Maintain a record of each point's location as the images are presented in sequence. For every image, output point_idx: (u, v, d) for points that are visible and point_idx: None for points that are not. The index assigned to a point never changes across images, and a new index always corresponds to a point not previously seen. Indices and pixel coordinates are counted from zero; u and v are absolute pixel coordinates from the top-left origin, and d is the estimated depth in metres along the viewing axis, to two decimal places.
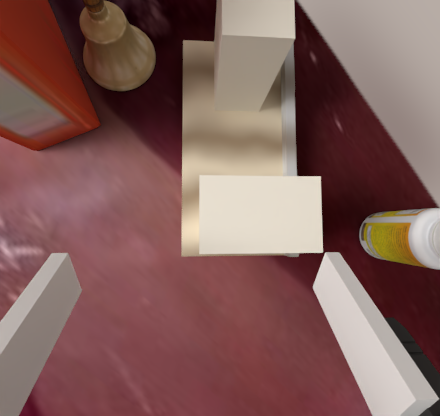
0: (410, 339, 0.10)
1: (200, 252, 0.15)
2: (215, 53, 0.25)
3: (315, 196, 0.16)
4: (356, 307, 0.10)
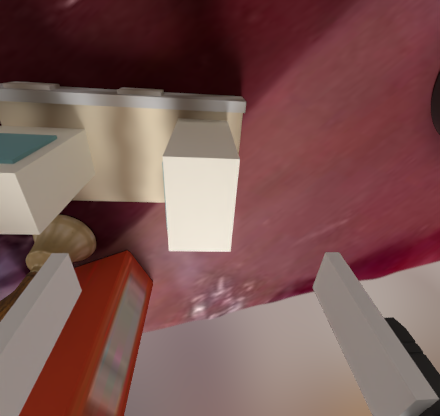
0: (410, 339, 0.10)
1: (229, 251, 0.20)
2: None
3: (183, 162, 0.16)
4: (356, 307, 0.10)
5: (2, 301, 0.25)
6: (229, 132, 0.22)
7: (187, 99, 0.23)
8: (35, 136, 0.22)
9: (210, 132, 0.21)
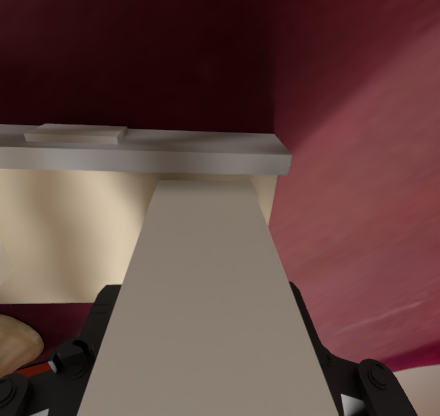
0: (299, 298, 0.11)
1: None
2: None
3: None
4: None
5: None
6: (265, 232, 0.10)
7: (171, 152, 0.11)
8: None
9: (223, 234, 0.10)
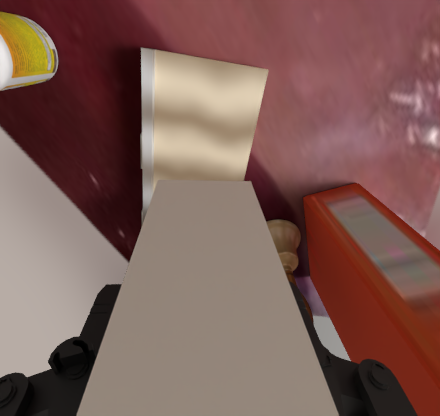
0: (299, 298, 0.11)
1: None
2: None
3: None
4: None
5: None
6: (265, 232, 0.10)
7: (142, 112, 0.25)
8: None
9: (224, 234, 0.10)
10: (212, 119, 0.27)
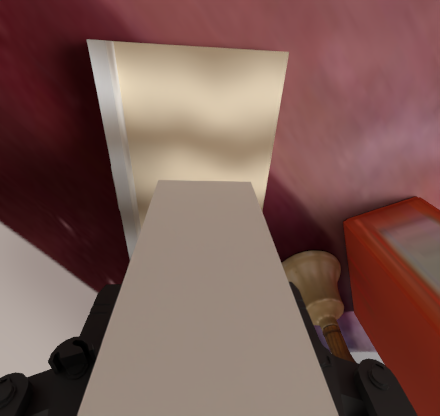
0: (299, 298, 0.11)
1: None
2: None
3: None
4: None
5: None
6: (265, 232, 0.10)
7: (107, 136, 0.17)
8: None
9: (223, 234, 0.10)
10: (210, 134, 0.19)
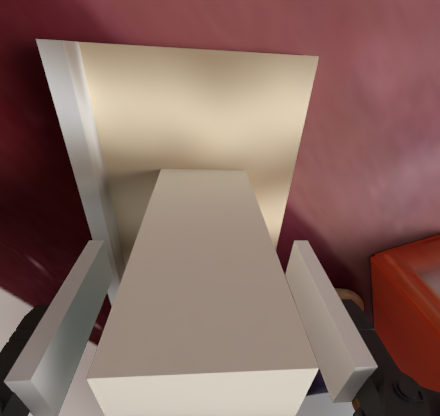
0: (364, 318, 0.10)
1: None
2: None
3: (153, 383, 0.05)
4: (316, 289, 0.11)
5: None
6: (257, 211, 0.11)
7: (74, 168, 0.13)
8: None
9: (220, 213, 0.11)
10: (213, 162, 0.14)
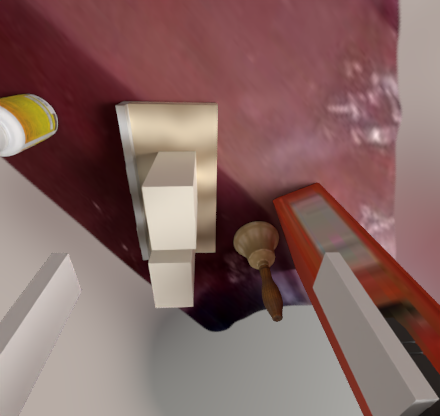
0: (410, 339, 0.10)
1: (195, 248, 0.28)
2: None
3: (155, 190, 0.24)
4: (356, 307, 0.10)
5: (262, 292, 0.35)
6: (193, 163, 0.30)
7: (124, 151, 0.32)
8: None
9: (179, 163, 0.30)
10: (180, 148, 0.34)
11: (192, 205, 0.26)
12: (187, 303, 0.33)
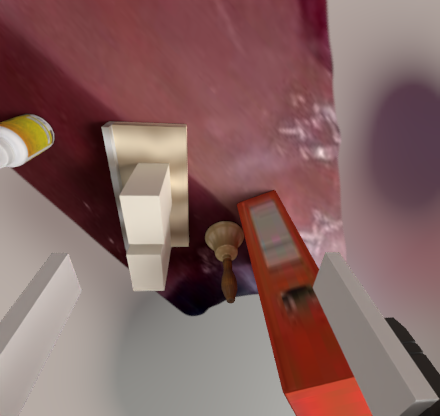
0: (410, 339, 0.10)
1: (163, 243, 0.36)
2: (168, 242, 0.47)
3: (130, 198, 0.32)
4: (356, 307, 0.10)
5: None
6: (164, 174, 0.37)
7: (108, 162, 0.39)
8: None
9: (153, 175, 0.37)
10: (156, 160, 0.41)
11: (159, 210, 0.33)
12: (159, 287, 0.41)
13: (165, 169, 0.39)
